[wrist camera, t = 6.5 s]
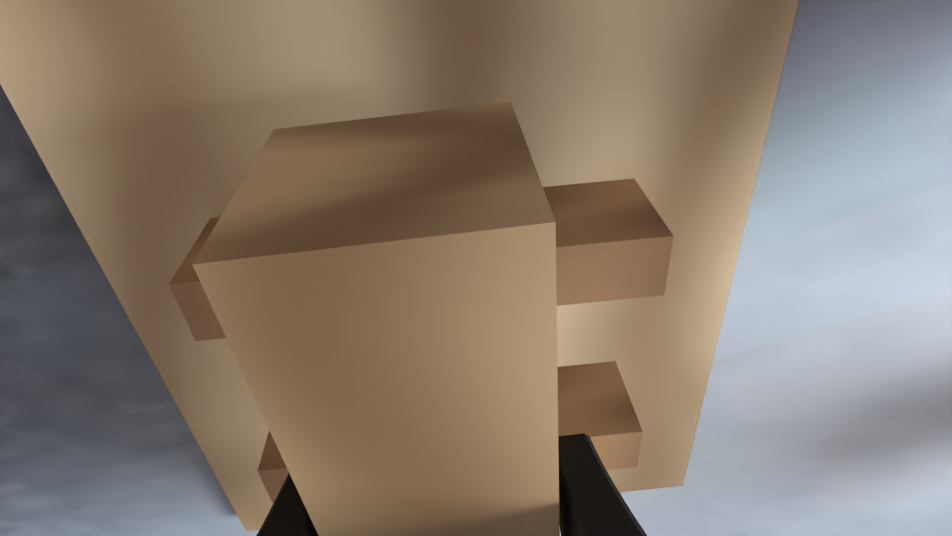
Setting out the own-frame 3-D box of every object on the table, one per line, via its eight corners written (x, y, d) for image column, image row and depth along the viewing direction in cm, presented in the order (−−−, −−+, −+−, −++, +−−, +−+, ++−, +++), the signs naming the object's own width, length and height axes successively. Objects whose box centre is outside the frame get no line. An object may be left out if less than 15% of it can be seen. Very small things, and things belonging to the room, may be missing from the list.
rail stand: (798, -97, 11) (923, -87, 8) (674, 466, 21) (711, 555, 19) (-29, -28, 11) (-187, 8, 8) (251, 510, 21) (225, 607, 18)
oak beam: (511, 102, 9) (555, 222, 6) (534, 508, 16) (561, 667, 13) (273, 129, 9) (191, 264, 6) (397, 525, 16) (389, 688, 13)
